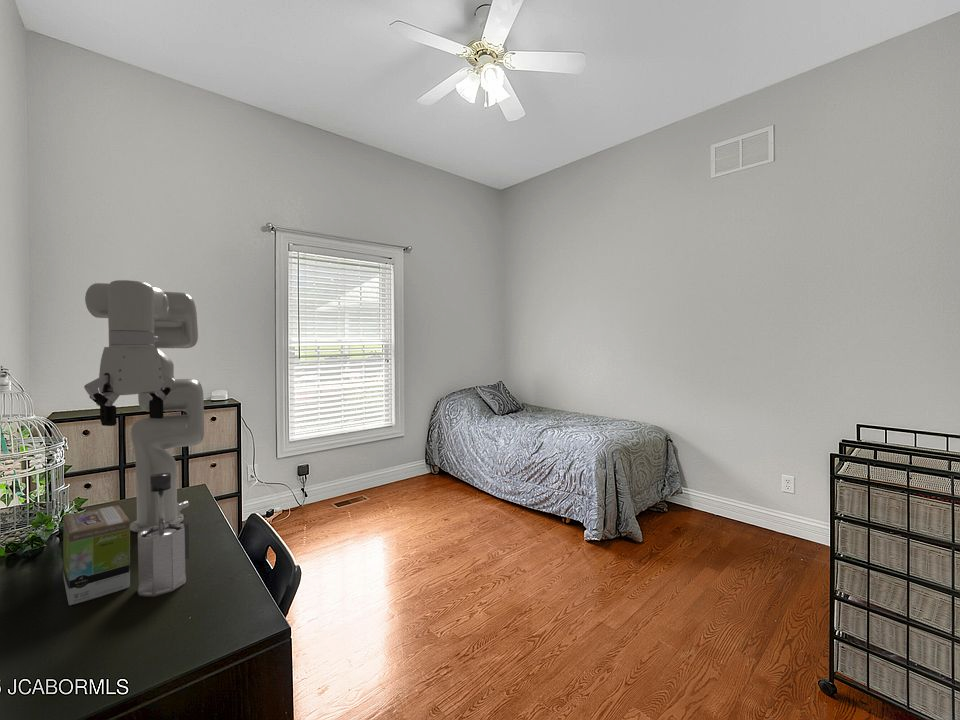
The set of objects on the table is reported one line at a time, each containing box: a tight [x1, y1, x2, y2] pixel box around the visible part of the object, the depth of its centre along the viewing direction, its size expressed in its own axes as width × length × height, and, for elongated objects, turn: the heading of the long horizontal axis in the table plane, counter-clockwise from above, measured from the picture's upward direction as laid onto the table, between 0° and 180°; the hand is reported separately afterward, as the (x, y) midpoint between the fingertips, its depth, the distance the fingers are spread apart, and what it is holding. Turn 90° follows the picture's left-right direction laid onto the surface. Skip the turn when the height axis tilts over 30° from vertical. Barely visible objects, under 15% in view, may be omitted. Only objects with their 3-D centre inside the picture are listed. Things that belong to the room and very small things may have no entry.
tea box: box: [62, 504, 131, 606], centre depth 94 cm, size 15×10×15 cm, turn 47°
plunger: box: [146, 473, 177, 538], centre depth 93 cm, size 5×5×13 cm
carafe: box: [137, 522, 190, 598], centre depth 95 cm, size 11×8×12 cm
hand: (133, 421), depth 91 cm, fingers open, 9 cm apart
